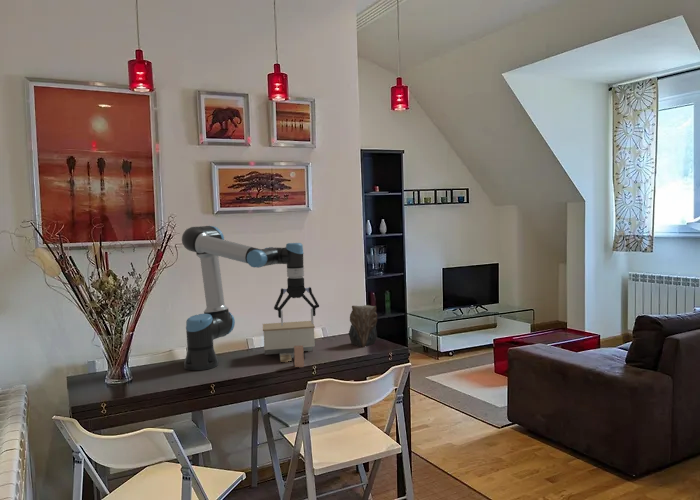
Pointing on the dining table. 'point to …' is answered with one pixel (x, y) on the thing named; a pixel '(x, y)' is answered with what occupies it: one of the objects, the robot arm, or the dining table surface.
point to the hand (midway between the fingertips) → (297, 324)
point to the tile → (285, 358)
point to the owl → (363, 325)
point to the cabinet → (288, 337)
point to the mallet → (296, 356)
